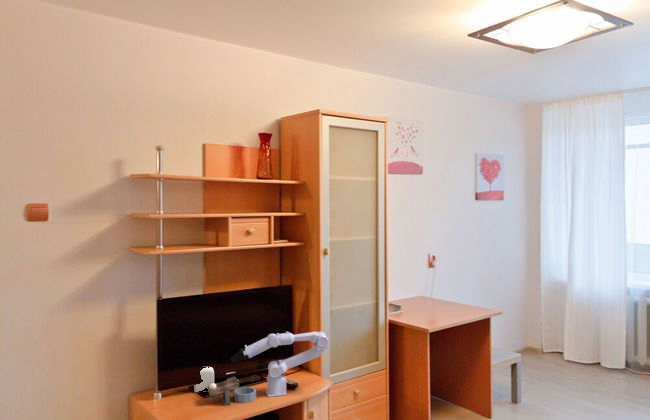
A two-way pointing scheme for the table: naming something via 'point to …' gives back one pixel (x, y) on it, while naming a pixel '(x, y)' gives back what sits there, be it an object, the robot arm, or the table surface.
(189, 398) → the table surface
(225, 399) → the lever stand
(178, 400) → the table surface
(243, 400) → the blue-grey round bin
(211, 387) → the ball
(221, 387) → the tipping ramp
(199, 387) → the white upright shaped piece
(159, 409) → the table surface
